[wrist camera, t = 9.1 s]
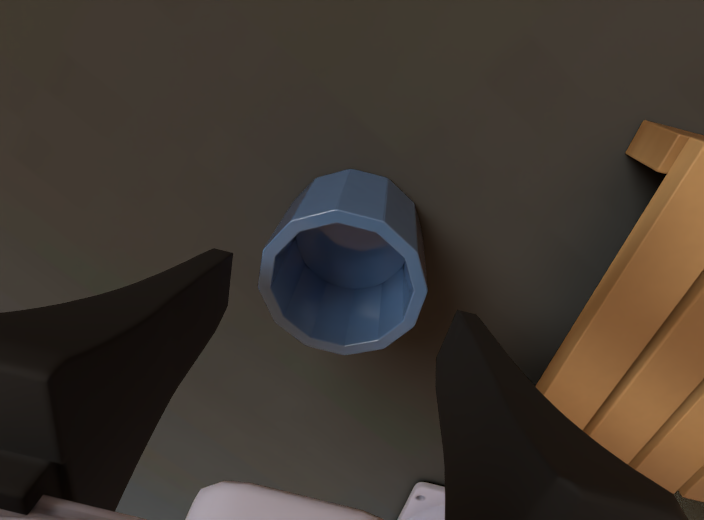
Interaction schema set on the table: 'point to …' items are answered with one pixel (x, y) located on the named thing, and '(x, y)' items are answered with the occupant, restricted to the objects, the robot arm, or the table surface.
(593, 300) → the rack
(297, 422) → the table surface
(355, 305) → the blue faceted cup
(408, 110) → the table surface
